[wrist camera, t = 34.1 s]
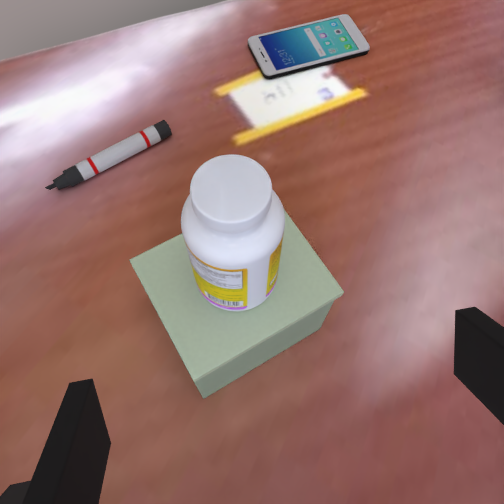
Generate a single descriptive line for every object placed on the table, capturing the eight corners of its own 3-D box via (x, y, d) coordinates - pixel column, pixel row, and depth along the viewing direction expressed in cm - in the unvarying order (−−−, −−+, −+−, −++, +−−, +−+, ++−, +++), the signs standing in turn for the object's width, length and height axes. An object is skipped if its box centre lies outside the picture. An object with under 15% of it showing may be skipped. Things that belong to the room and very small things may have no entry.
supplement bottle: (254, 227, 40) (258, 125, 28) (291, 293, 37) (312, 209, 25) (182, 258, 38) (155, 164, 27) (215, 328, 36) (201, 257, 24)
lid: (269, 194, 42) (269, 189, 41) (342, 295, 38) (344, 291, 37) (131, 263, 39) (128, 259, 38) (194, 382, 35) (193, 380, 34)
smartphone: (372, 48, 61) (266, 76, 58) (370, 53, 61) (265, 81, 59) (347, 12, 64) (245, 37, 61) (346, 18, 64) (245, 42, 62)
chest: (259, 239, 49) (261, 197, 42) (320, 328, 45) (334, 300, 38) (149, 297, 46) (131, 263, 39) (203, 399, 42) (194, 382, 35)
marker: (164, 127, 56) (161, 116, 54) (172, 138, 55) (170, 127, 53) (46, 188, 52) (39, 178, 50) (53, 201, 51) (46, 191, 49)
